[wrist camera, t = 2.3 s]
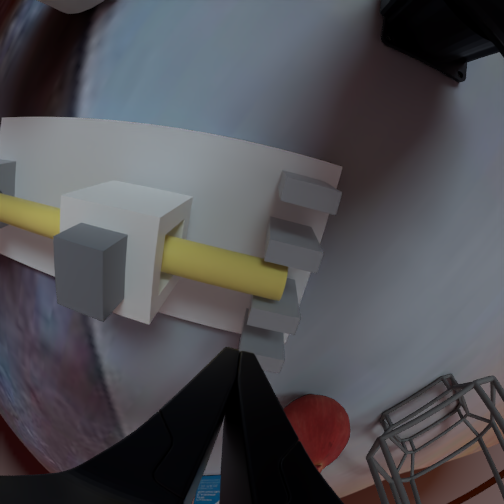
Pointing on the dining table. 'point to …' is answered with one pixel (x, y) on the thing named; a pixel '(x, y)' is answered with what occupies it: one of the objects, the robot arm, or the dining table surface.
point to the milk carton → (208, 490)
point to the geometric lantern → (390, 433)
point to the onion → (319, 427)
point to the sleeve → (117, 249)
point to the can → (71, 5)
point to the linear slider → (200, 221)
